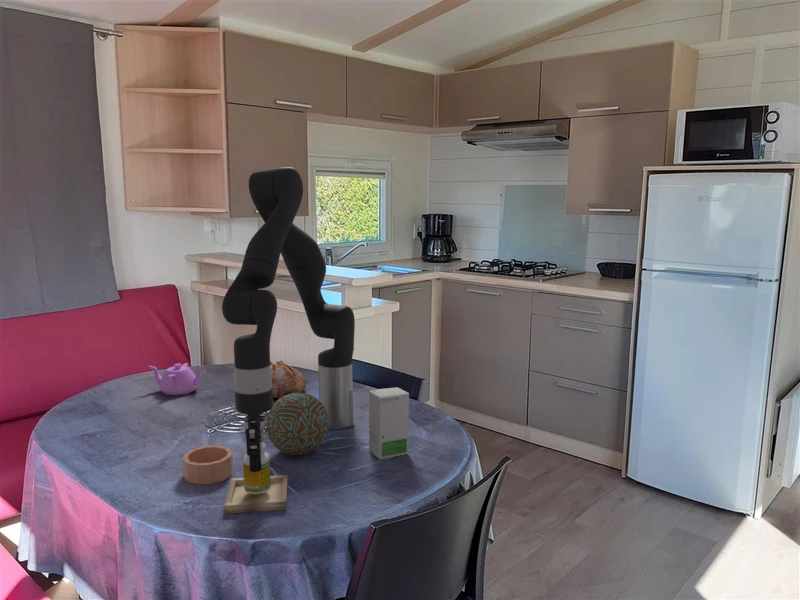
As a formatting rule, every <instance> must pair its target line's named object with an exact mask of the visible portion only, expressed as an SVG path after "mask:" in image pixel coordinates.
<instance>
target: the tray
mask: <svg viewBox="0 0 800 600" xmlns="http://www.w3.org/2000/svg"><path fill="white" fill-rule="evenodd" d="M270 482H271V487H270V489H269V490H268V491H267V492H265V493H262V494H249V493H247V492H246V491H245V489H244V477H236V478H235V477H233V478H231V480H230V483H229V487H228V492H227V494H226V499H225V503H224V514H225V515H226V514H227V515H228V514H242V513H243V514H245V513H258V512H271V511H285V510H287V501H288V486H289V474H281V475H270Z"/></svg>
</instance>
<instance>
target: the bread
mask: <svg viewBox="0 0 800 600" xmlns="http://www.w3.org/2000/svg"><path fill="white" fill-rule="evenodd" d="M270 367H271V372H272V390H273V399H280V398H281V397H283V396H286V395H287V394H290V393H296V392H297V393H304V391H305V390H306V386H307V385H306V384H307V381H306V379H305V377H304V375H303V373H301V372H300V371H299V370H297V369H296V368H294V367H292V366H291V365H289V364H287V363H286V362H285V361H282V360H280V361H276V363H273V362H272V361H270Z"/></svg>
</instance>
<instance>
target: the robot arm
mask: <svg viewBox="0 0 800 600" xmlns="http://www.w3.org/2000/svg"><path fill="white" fill-rule="evenodd" d="M248 190H249V195H250V198H251V200H252V202H253V205H254V207H255V209H256V211H257V212H258V214H259V215H260V217H261V219H262V220H263V222H264V223H263V225H261V227H260V228H259V229H258V230H257V231H256V232H255V234H254V235H253V236H252V238H251V239H250V240H249V242H248V244H247V247H246V250H245V254H244V256H243V260H242V261H243V262H242V264H241V268H240V270H239V272H238V273H237V275H236V276H235V278H234V280H233V282H232V283H231V285H230V286H229V288H228V289H227V291H226V293H225V295H224V297H223V300H222V304H221V305H222V306H221V313H222V315H223V317H224V319H225V321H226V322H228V323H229V324H232V325H241V326H242V325H244V326H245V325H246V326H256V330H255V332H254V333H250V334H249V333H248V334H244V335H241V336H239V337H236V338H235V340H234V341H233V355H234V357H233V359H234V361H233V362H234V373H233V384H234V402H235V406H234V407H235V411H237V413H240V414H245V420H244V421H243V423H244V424H243V426H244V429H245V431H244V434H245V442H246V443H245V444H246V445H247V453H246V454H247V456H249V461H250V471H251V472H259V471H261V452H262V450H261V442H263V443H264V439H265V436H264V435H265V432H266V414H264V413H266V412H269V411H270V409H271V408H272V407H273V405H274V398H273V390H272V372H271V367H270V362H271V354H270V353H271V352H270V351H271V350H270V349H271V346H270V345H271V337H272V332H273V326H274V323H275V320H276V316H277V312H278V311H277V310H278V301H277V298H276V296H275V295H274V293H273V292H272V291H270V290H267V289H266V288H268V287H271V286H272V285H273V284H274V282H275V279H276V275H277V270H278V266H279V261H280V256H281V257H282V259H283V262H284V264H285V266H286V269H287V271H288V273H289V276H290V277H291V280H292V281H293V283H294V286H295V288H296V289H297V292H298V294H299V295H298V296H299V297H300V300H301V302H302V305H303V308H304V312H305V314H306V318H307V320H308V323H309V326H310V328H311V331H312V332H313V334H314V335H315V336H317V337H319V338H323V339H328V340H334V341H333V347H332V348H329V349H325V350H321V351H320V352H319V353H318V356H317V369H318V370H317V371H318V374H317V376H318V400H319V401H320V402H321V403H322V404H323V406H324V407H325V409H326V412H327V415H328V420H329V424H328V430H329V429H330V430H340V429H341V430H342V429H345V428H346V429H347V428H349V427H354V426H355V425H354V424H355V423H354V391H353V390H354V389H353V355H354V350H355V328H356V327H355V326H356V325H355V324H356V323H355V322H356V321H355V313H354V311H353V309H352V308H351V307H350V306H348V305H340V304H331V303H330V304H329V303H327V302H326V301H325V299H324V297H323V294H322V292H321V291H322V290H321V289H322V287H323V285H324V284H323V283H324V280H325V277H326V273H327V264H326V262H325V258H324V256H323V254H322V251H321V249H320V247H319V245H318V243H317V241H316V240H315V239H313V237H312V236H310V235H309V234H308V233H307V232H305V231H304V230H303V229H301V228H300V227H299V226H297V225H296V224H295V223H294V220H295V218H296V216H297V213H298V211H299V208H300V206H301V203H302V200H303V195H304V183H303V180H302V178H301V175H300V173H299V171H298V170H297V169H296V168H295V167H292V166H291V167H290V166H283V167H273V168H267V169H263V170H258V171H253V172H252V173H251V174H250V175H249V178H248ZM251 446H257V448H254V449H251Z"/></svg>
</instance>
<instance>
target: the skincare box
mask: <svg viewBox="0 0 800 600" xmlns="http://www.w3.org/2000/svg"><path fill="white" fill-rule="evenodd" d="M368 395H369V396H368V397H369V398H368V399H369V400H368V401H369V404H368V405H369V407H368V408H369V409H368V410H369V411H368V422H369V423H368V424H369V425H368V429H369V430H368V449H369V450H368V451H369V452H370V453H371V454H372V455H374V457H375V458H377V459H378V460H385V459H390V458H394V457H395V456H396V457H398V456H399V457H401V456H405V454H406V455H409V439H410V438H409V432H410V430H409V426H410V424H409V423H410V422H409V421H410V420H409V419H410V393H409V392H408V391H405V390H403V389H402V388H400V387H388V388H379V389H371V390H369V391H368ZM400 455H401V456H400Z"/></svg>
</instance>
